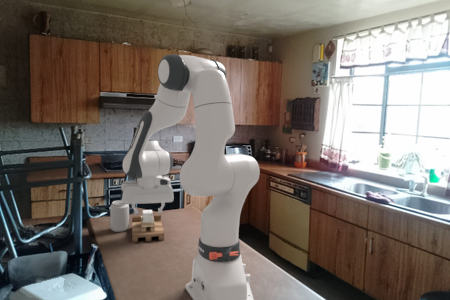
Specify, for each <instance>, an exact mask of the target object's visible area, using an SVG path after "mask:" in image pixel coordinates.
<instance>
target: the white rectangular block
mask: <svg viewBox="0 0 450 300" xmlns="http://www.w3.org/2000/svg"><path fill="white" fill-rule="evenodd" d="M153 215H154V212H153V209H142V216H143V223H149V222H153Z"/></svg>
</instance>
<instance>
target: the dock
mask: <svg viewBox="0 0 450 300" xmlns="http://www.w3.org/2000/svg"><path fill="white" fill-rule="evenodd" d="M141 216H142V215H139V216H137V215H135V216H134V215H133V216H131V225H132V226H131V239H132V243H139V238H144V239H145V242H152V238H155V237H157V238H158V241H165V231H164V227H163V223H162V215H161V214H159V215H158V214H157V215H156V214H155V215H154V214H153V217H154V222H155V231H151V230H150V227H146V231H143V232H142V228H141Z"/></svg>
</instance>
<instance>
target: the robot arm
mask: <svg viewBox="0 0 450 300" xmlns="http://www.w3.org/2000/svg"><path fill="white" fill-rule="evenodd" d="M226 71H227V70H226V68H225V66H224V64H223V63H221V62H219V61H218V60H216V59H215V60H214V59H208V58H205V57H199V56H196V55H185V54H178V53H173V54H166V55H164V56H162V57H161V60H160V61H159V64H158V66H157V78H158V82H159V86H158V90H157V92H156V98H155V100H154V102H153V104H152V105H151V107H149V110H147V111H145V112H144V113H143V114H142V116H141V119H140V120H139V122H138V125H137V128H136V130H135V133H134V135H133V138H132V140H131V143H130V145H129V147H128V150H127V152H126V153H125V155H124V157H123V159H122V172H123V173H124V174H125V176H127V177H128V178H129V179H132V180H125V181H123V182H122V183H121V187H120V188H121V191H122V199H121V200H122V202H123V204H129V205H131V208H132V210H133V211H134V212H133V214H134V215H135V216H137V215H139V209H137V208H136V205H138V204H140V205H141V204H143V205H144V204H161V206H160V207H158V208H157V210H158V211H157V214H163V209H164V207H166V203H173V202H174V198H175V197H174V191H173V187H172V185H171V183H172V182H171V181H172V180H171V179H170V177H168V176H166V175H169V174H170V173H171V171H172V170H173V167H174V158H173V156H172V155H171V153H170V152H169V151H168V150H164V149H163V148H162V147H161V146H160V144H159V141H158V140H156V139H150V138H151V137H152V135H154V134H155V133H157V132H159V131H162V130H164V129H166V128H170V127H173V126H176V125H178V123H181V121H183V119H184V118H185V116H186V115H187V114H186V113H187V112H188V111H187V110H188V107H189V104H190V103H189V102H190V98H191V96H192V100H193V111H194V120H195V121H194V122H195V135H196V136H195V142H194V146H193V150H192V151H191V154H190V156H189V157H188V158H187V160H186V161H185V162H184V163H182V166H181V168H180V171H179V183H180V185H181V187H182V189H183V190H184V192H185V194H187V195H189V196H191V197H192V196H193V197H202V198H203V197H205V198H206V197H212V196H213V197H212V199H211V201H210V203H209V204H207V205H206V207H204V209H203V211H202V212H201V215H200V234H199V235H200V237H199V238H198V243H197V249H198V252H197V253H198V254H196V257H194V258H193V260H192V269H191V270H192V271H191V280H190V281H189V282H188V283H186V285H185V289H186V291H187V293H188V294H189V296H190V297H191V298H192V300H255V299H254V296H253V292H252V289H251V286H250V283H251V281H252V278H251V274H250V273H246V272H245V270H246V269H247V264H246V263H243V259H242V258H243V257H242V254H241V243H240V239H239V232H240V231H239V230H240V229H239V228H240V221H241V219H240V218H241V213H242V209H243V206H244V204H245V202H246V199H247V196H248V195H249V193H250V191H251V189H252V188H253V187H254V186H255V185H256V184H257V183H258V181H259V179H260V175H261V174H260V172H261V170H260V165H259V163H258V161H257V160H256V159H255V158H254V157H253V156H251V155H248V154H243V153H229V154H225V149H226V144H227V142H228V140H229V139H231V138H232V137H233V135H234V134H235V132H236V125H235V124H236V122H235V116H234V110H233V109H234V107H233V102H232V95H231V91H230V88H229V83H228V80H227V72H226ZM191 94H192V95H191ZM134 215H133V216H134Z"/></svg>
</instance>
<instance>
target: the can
mask: <svg viewBox="0 0 450 300" xmlns="http://www.w3.org/2000/svg"><path fill="white" fill-rule="evenodd" d="M109 209H110V213H109V214H110V217H109V218H110V224H109V225H110V228H109V229H111V231H113V232H115V233H121V232H126V231H127V230H128V229H129V228H130V204H123V202H122V199H120V200H113V201H112V202H111V204H110V207H109Z"/></svg>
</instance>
